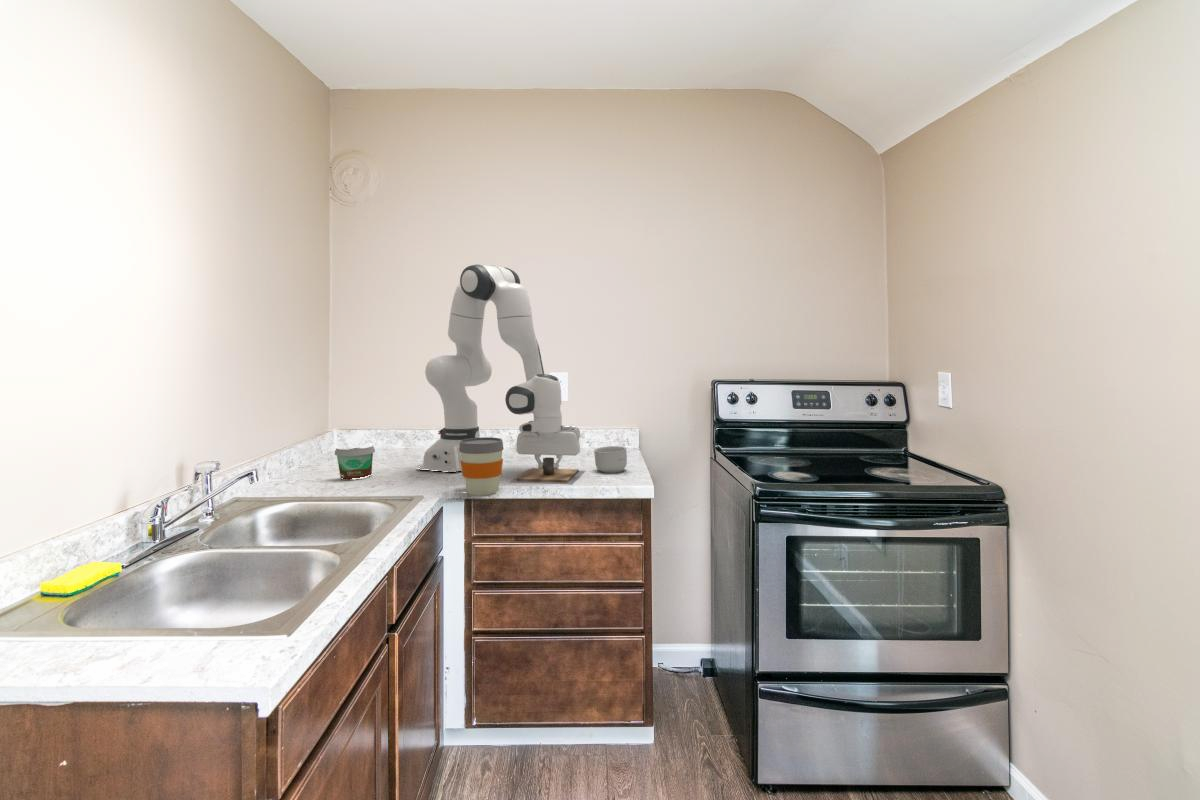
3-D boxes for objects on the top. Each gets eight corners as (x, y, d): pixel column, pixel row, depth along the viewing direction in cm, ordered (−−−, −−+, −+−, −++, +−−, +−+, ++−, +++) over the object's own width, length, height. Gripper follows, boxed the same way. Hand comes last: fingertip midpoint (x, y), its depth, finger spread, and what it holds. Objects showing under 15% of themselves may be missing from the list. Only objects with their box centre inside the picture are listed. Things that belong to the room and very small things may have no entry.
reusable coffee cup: (504, 485, 186) (502, 436, 185) (505, 495, 174) (503, 443, 172) (461, 487, 184) (460, 438, 183) (459, 498, 172) (457, 444, 170)
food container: (337, 482, 193) (335, 451, 192) (335, 479, 198) (334, 448, 197) (378, 478, 199) (377, 447, 198) (376, 474, 204) (374, 444, 203)
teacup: (624, 475, 198) (623, 451, 198) (591, 474, 200) (590, 450, 200) (630, 467, 212) (630, 444, 211) (599, 466, 214) (599, 443, 213)
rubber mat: (508, 483, 189) (508, 482, 189) (528, 470, 208) (528, 469, 208) (572, 485, 185) (572, 484, 185) (586, 472, 205) (586, 470, 205)
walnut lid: (516, 481, 190) (516, 462, 190) (532, 470, 206) (531, 453, 206) (567, 482, 187) (566, 463, 187) (578, 471, 203) (578, 454, 203)
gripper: (582, 424, 196) (582, 467, 198) (520, 423, 200) (521, 465, 201) (577, 427, 190) (578, 471, 191) (514, 426, 194) (515, 469, 195)
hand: (548, 468), depth 197 cm, fingers closed on walnut lid, 3 cm apart
